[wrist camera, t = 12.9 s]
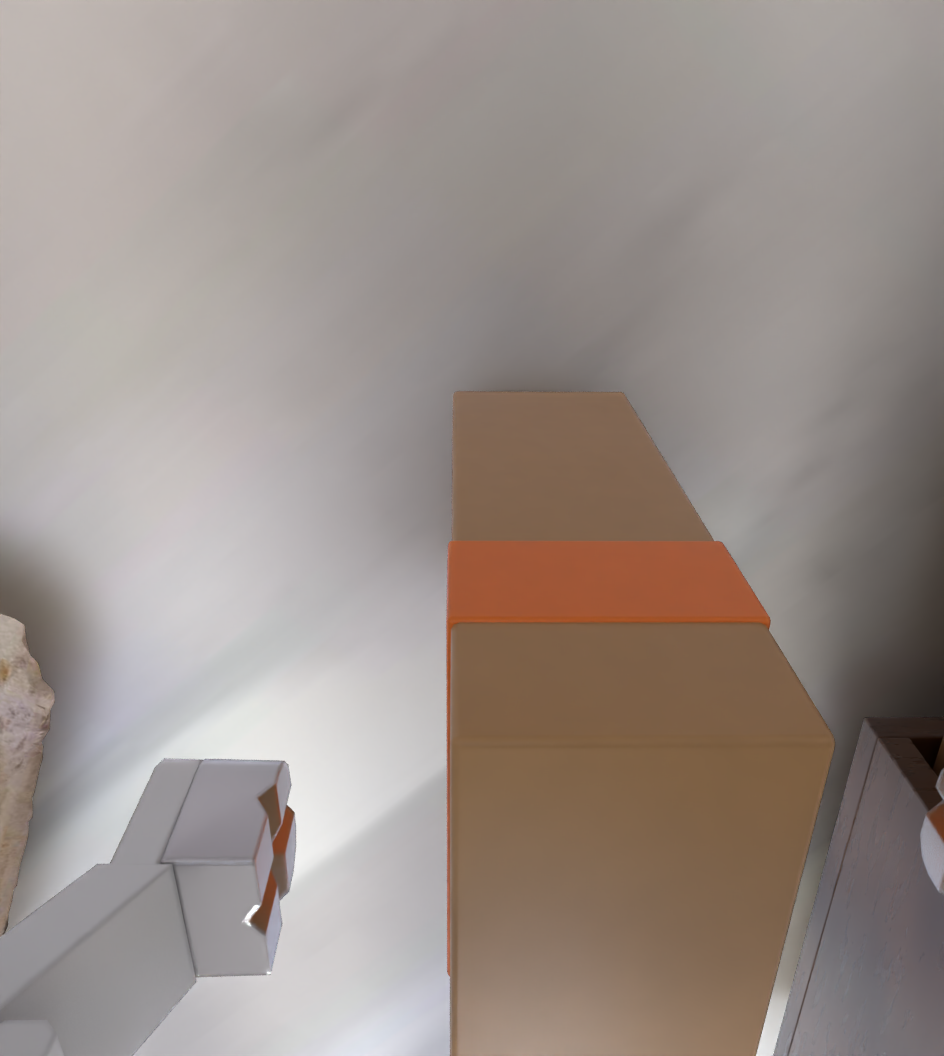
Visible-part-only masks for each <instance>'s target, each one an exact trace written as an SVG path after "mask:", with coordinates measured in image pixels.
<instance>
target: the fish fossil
mask: <svg viewBox="0 0 944 1056" xmlns="http://www.w3.org/2000/svg"><path fill="white" fill-rule="evenodd" d="M54 703H55V697H54V691H53V689H52V688H51V687H50V686H49V685H48V684H47V683H46V682H45V681H44V680H43V679H42V676H41V671H40V668H39V664H38V662H37V661H36V660H35V659H34V658H33V657H32V656H31V655H30V652H29V648H28V645H27V641H26V633H25V625H24V624H22V623H21V622H19V621H17V620H16V619H14V618H12V617H9V616H6V615H3V614H0V937H1V936H2V935H4V933H5V931H6V929H7V926H8V914H9V910H10V906H11V902H12V897H13V890H14V888H15V887H16V886H17V881H18V875H19V868H20V864H21V860H22V857H23V854H24V851H25V847H26V843H27V839H28V835H29V821H30V820H31V818H32V817H33V804H32V797H33V795H34V792H35V788H36V783H37V779H38V774H39V769H40V766H41V762H42V758H43V744H42V741H43V739H44V737H45V736H46V734H47V733H48V731H49V729H50V709H51V707H52V706H53V704H54Z"/></svg>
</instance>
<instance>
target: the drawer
mask: <svg viewBox="0 0 944 1056" xmlns="http://www.w3.org/2000/svg"><path fill="white" fill-rule="evenodd" d="M942 769H944V736H943V739H942V742H941V746H940V749H939V752H938V755H937V758H936V761H935V764H934V767H933V771H934V772H935V774H936V775H937V776H938V778H939V775H940V772H941V770H942Z"/></svg>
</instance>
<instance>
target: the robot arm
mask: <svg viewBox="0 0 944 1056" xmlns="http://www.w3.org/2000/svg"><path fill="white" fill-rule="evenodd" d="M935 787H936V789H937V790H938V792H939V794H940V796H941V797H942V799H943V800H942V801H941V802H940V803H938V804H937V805H936V806H935V807H933V808H932V809H931V810H930V811H928V812H927V813H926V815H925V819H924V822H923V825H922V829H921V832H920V839H921V852H922V858H923V861H924V864H925V867H926V870H927V873H928V875H929V877H930V878H931V880H932V882H933V883H934V885H935V887H936V889H937V890H938V892H939V893H941V894H942V895H944V769H942V770H941V772H940V775H939V778H938V780H937V783H936V786H935ZM290 789H291V779H290V772H289V766H288V764H287V763H286V762H285V761H270V760H232V759H205V760H196V759H165V758H164V759H163V760H162V761H161V762H160V763H159V764H158V765H157V766H156V767H155V768H154V771H153V773H152V775H151V777H150V779H149V781H148V783H147V785H146V788H145V790H144V792H143V794H142V796H141V798H140V800H139V803H138V805H137V807H136V809H135V811H134V813H133V815H132V817H131V820H130V822H129V824H128V826H127V828H126V830H125V832H124V835H123V837H122V839H121V841H120V843H119V845H118V847H117V849H116V852H115V854H114V856H113V858H112V860H111V862H110V864H96V865H95V866H94V867H92V868H91V869H90V870H88V871H87V872H86V873H85V874H83V875H82V876H81V877H79V878H78V879H77V880H75V881H74V882H73V883H71V884H70V885H69V886H67V887H66V888H65V889H63V890H62V891H61V892H59V893H58V894H57V895H55V896H54V897H53V898H51V899H50V900H49V901H47V902H46V903H45V904H43V905H42V906H41V907H39V908H38V909H37V910H35V911H34V912H33V913H31V914H30V915H29V916H27V917H26V918H25V919H23V920H22V921H21V922H20V923H18V924H17V925H16V926H14V927H13V928H12V929H10V930H9V931H8V932H6V933H5V934H4V935H2V936H1V937H0V1056H133V1055H134V1053H135V1052H136V1051H137V1050H138V1049H139V1048H140V1046H141V1045H142V1044H143V1043H144V1042H145V1041H146V1039H147V1038H148V1037H149V1036H150V1035H151V1034H152V1033H153V1031H154V1030H155V1029H156V1028H157V1027H158V1026H159V1024H160V1023H161V1022H162V1021H163V1020H164V1019H165V1018H166V1016H167V1015H168V1014H169V1013H170V1012H171V1011H172V1009H173V1008H174V1007H175V1006H176V1005H177V1004H178V1002H179V1001H180V1000H181V999H182V998H183V997H184V996H185V994H186V993H187V992H188V991H189V990H190V989H191V987H192V986H193V985H194V984H195V983H196V977H216V976H249V975H271V971H272V966H273V962H274V958H275V953H276V949H277V944H278V940H279V936H280V931H281V927H282V918H281V910H280V902H279V901H280V900H281V899H282V898H283V897H284V896H285V895H286V894H287V893H288V892H289V891H290V886H291V881H292V876H293V871H294V862H295V852H296V823H295V813H294V811H293V810H292V809H291V808H290V807H288V806H287V801H288V797H289V793H290Z"/></svg>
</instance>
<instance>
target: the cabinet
mask: <svg viewBox="0 0 944 1056" xmlns="http://www.w3.org/2000/svg"><path fill="white" fill-rule="evenodd" d="M943 736H944V717H866V718H864V721H863V724H862V728H861V732H860V735H859V739H858V743H857V747H856V750H855V754H854V758H853V761H852V765H851V769H850V772H849V776H848V780H847V784H846V787H845V791H844V795H843V798H842V802H841V806H840V810H839V813H838V817H837V821H836V824H835V828H834V832H833V835H832V839H831V843H830V847H829V850H828V854H827V858H826V861H825V865H824V869H823V873H822V876H821V880H820V884H819V887H818V891H817V895H816V898H815V902H814V906H813V910H812V913H811V917H810V921H809V924H808V928H807V932H806V936H805V939H804V943H803V947H802V950H801V954H800V958H799V961H798V965H797V969H796V973H795V976H794V980H793V984H792V987H791V991H790V995H789V999H788V1002H787V1006H786V1010H785V1013H784V1017H783V1021H782V1024H781V1028H780V1032H779V1036H778V1039H777V1043H776V1047H775V1050H774V1054H773V1056H944V895H942V894H941V893H939V892H938V890H937V889H936V887H935V885H934V883H933V882H932V880H931V878H930V877H929V875H928V873H927V870H926V867H925V864H924V861H923V858H922V852H921V839H920V832H921V829H922V825H923V822H924V819H925V815H926V813H927V812H928V811H930V810H931V809H932V808H933V807H935V806H936V805H937V804H938V803H940V802H941V801H942V800H943V799H942V797H941V796H940V794H939V792H938V790H937V789H936V787H935V786H936V783H937V780H938V776H937V775H936V774H935V772H934V771H933V767H934V764H935V761H936V758H937V755H938V752H939V749H940V746H941V742H942V739H943Z"/></svg>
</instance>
